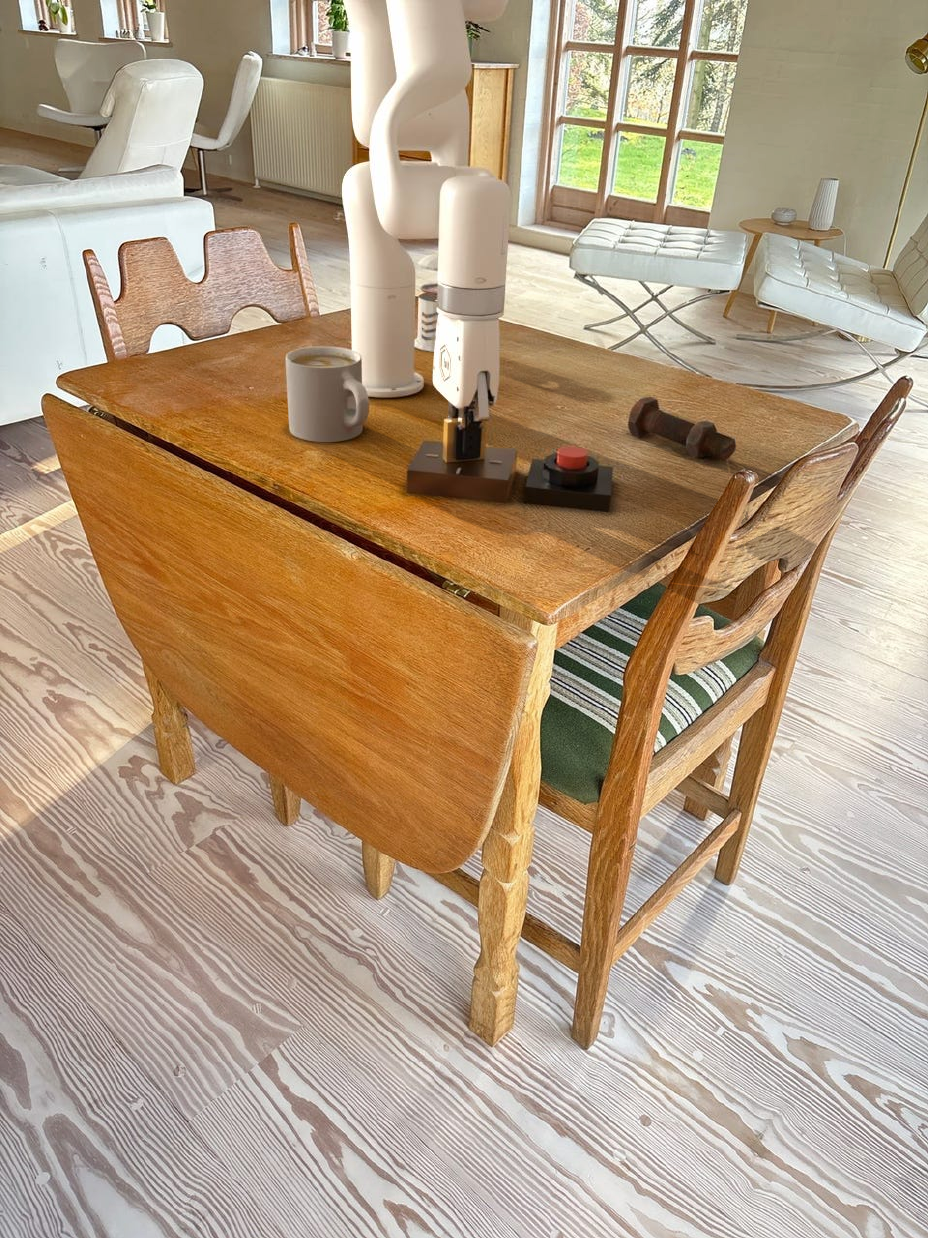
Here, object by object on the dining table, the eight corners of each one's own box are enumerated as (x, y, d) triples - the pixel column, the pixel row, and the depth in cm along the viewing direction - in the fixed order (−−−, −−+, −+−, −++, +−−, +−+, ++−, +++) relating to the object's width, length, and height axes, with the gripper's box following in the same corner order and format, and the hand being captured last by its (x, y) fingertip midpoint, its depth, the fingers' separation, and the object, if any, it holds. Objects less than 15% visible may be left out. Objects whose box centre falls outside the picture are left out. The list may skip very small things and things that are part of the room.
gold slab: (446, 462, 114) (447, 420, 112) (442, 458, 116) (443, 416, 113) (485, 459, 116) (487, 417, 113) (481, 454, 117) (483, 413, 114)
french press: (409, 336, 173) (412, 186, 160) (473, 337, 175) (480, 188, 162) (413, 351, 165) (416, 194, 152) (480, 352, 166) (488, 197, 153)
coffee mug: (277, 423, 132) (273, 351, 127) (342, 412, 137) (340, 342, 132) (320, 455, 123) (317, 379, 118) (387, 443, 128) (388, 369, 122)
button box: (523, 503, 113) (526, 472, 111) (531, 474, 120) (533, 444, 118) (608, 512, 112) (612, 480, 109) (610, 482, 119) (614, 452, 117)
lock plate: (406, 493, 114) (406, 468, 112) (422, 462, 122) (423, 438, 121) (506, 503, 112) (508, 478, 111) (515, 471, 121) (517, 448, 119)
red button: (555, 469, 113) (556, 455, 112) (557, 458, 116) (558, 444, 115) (585, 472, 112) (587, 458, 111) (587, 461, 115) (588, 447, 114)
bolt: (721, 478, 126) (631, 441, 135) (743, 453, 128) (653, 418, 137) (716, 447, 122) (624, 411, 131) (739, 421, 123) (647, 388, 132)
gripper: (417, 284, 111) (414, 435, 121) (463, 318, 99) (456, 483, 108) (477, 282, 113) (470, 430, 123) (529, 314, 101) (517, 477, 111)
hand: (463, 454), depth 116 cm, fingers closed
